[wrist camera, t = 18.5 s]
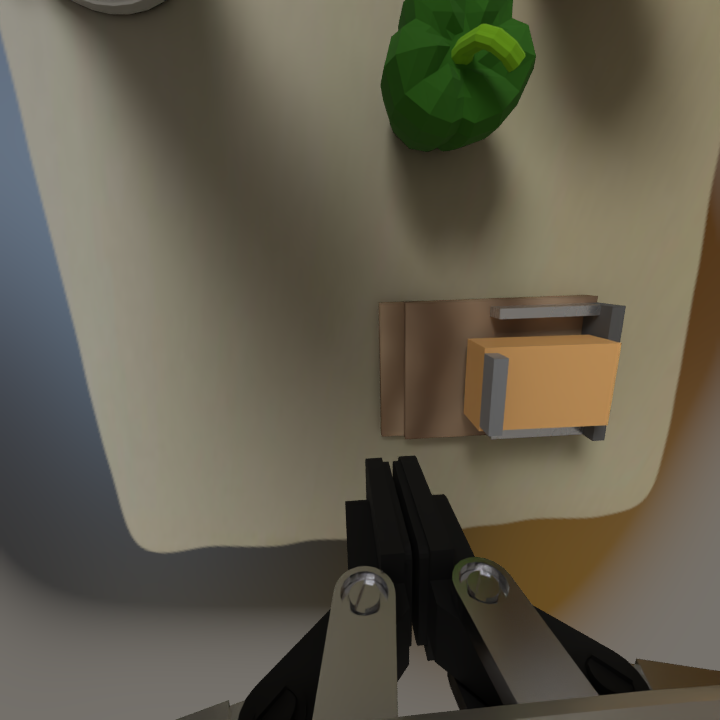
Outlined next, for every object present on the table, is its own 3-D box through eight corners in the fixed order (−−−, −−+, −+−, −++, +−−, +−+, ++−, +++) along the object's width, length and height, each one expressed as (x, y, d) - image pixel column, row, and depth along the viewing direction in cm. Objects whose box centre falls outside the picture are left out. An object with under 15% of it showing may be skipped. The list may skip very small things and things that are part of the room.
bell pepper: (351, 89, 25) (360, -21, 16) (448, 18, 25) (519, -143, 15) (410, 195, 27) (449, 155, 18) (501, 132, 27) (594, 54, 17)
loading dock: (380, 432, 32) (387, 458, 28) (378, 302, 29) (385, 308, 25) (568, 422, 33) (603, 445, 29) (585, 295, 30) (626, 299, 26)
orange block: (458, 407, 31) (487, 441, 25) (462, 335, 29) (494, 353, 23) (569, 402, 31) (624, 434, 25) (578, 331, 29) (640, 347, 23)
